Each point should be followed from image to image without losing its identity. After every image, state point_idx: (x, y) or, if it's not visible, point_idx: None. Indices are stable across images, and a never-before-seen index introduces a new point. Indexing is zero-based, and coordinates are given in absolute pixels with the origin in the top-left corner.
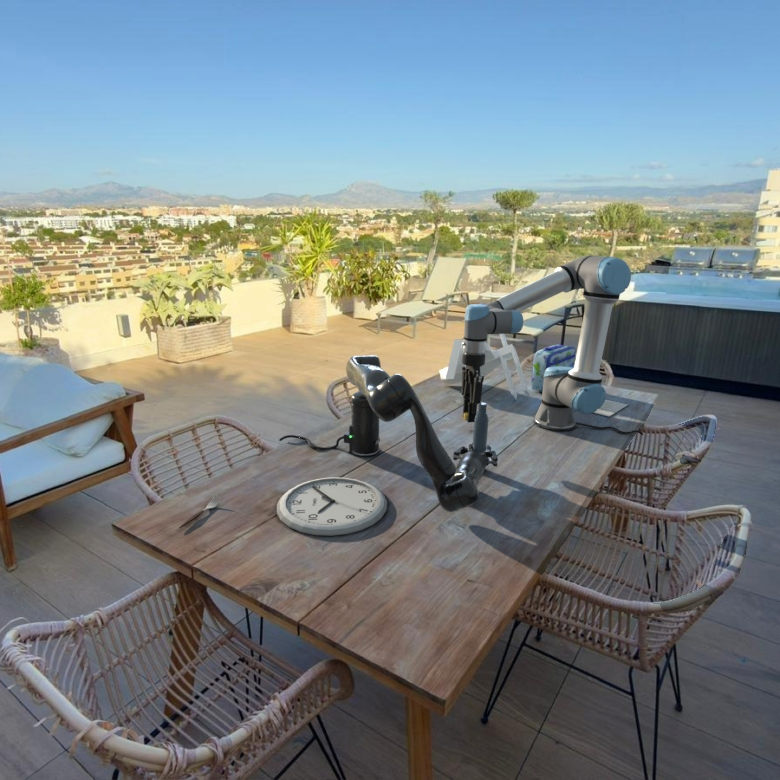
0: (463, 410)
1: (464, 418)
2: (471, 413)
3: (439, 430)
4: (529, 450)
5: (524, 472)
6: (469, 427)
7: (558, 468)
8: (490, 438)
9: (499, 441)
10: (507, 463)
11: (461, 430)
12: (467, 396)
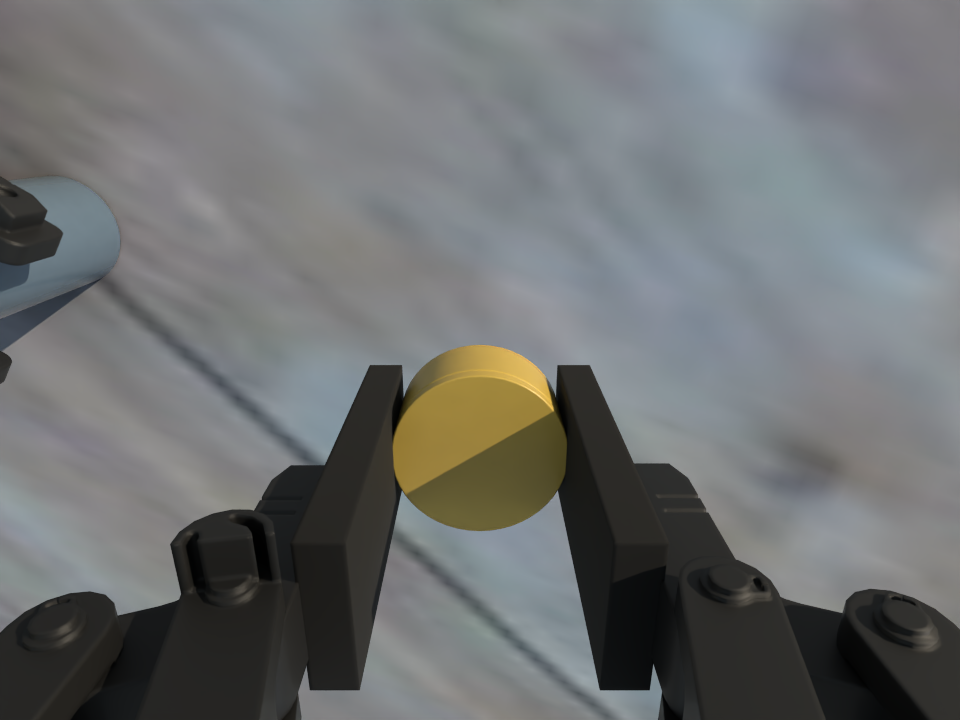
0: (596, 413)
1: (459, 353)
2: (306, 465)
3: (952, 198)
4: (374, 681)
5: (36, 526)
6: (894, 477)
7: None
8: None
9: (558, 576)
10: (179, 482)
11: (863, 394)
12: (680, 668)
